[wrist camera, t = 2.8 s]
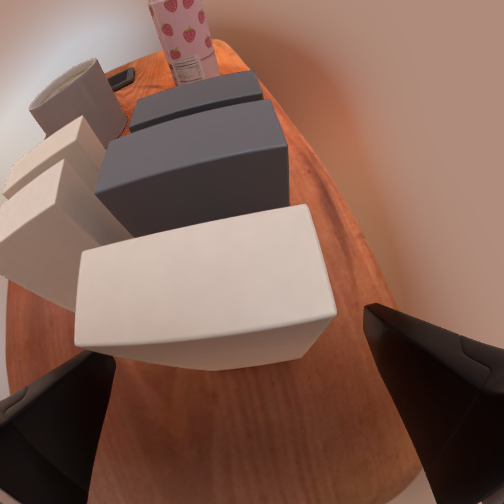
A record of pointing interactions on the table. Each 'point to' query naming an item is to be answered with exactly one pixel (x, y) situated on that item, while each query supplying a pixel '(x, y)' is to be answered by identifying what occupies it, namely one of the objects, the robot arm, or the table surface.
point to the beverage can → (185, 39)
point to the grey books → (196, 157)
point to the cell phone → (121, 79)
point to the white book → (208, 293)
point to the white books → (55, 214)
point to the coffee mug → (80, 102)
